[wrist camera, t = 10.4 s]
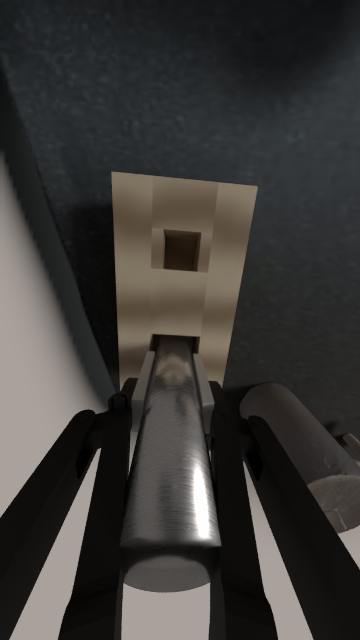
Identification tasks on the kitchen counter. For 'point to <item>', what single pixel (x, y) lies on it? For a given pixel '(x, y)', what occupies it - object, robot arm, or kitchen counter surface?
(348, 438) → the pipe connector
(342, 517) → the pillar candle
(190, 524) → the pin
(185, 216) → the hole block
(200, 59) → the kitchen counter surface
